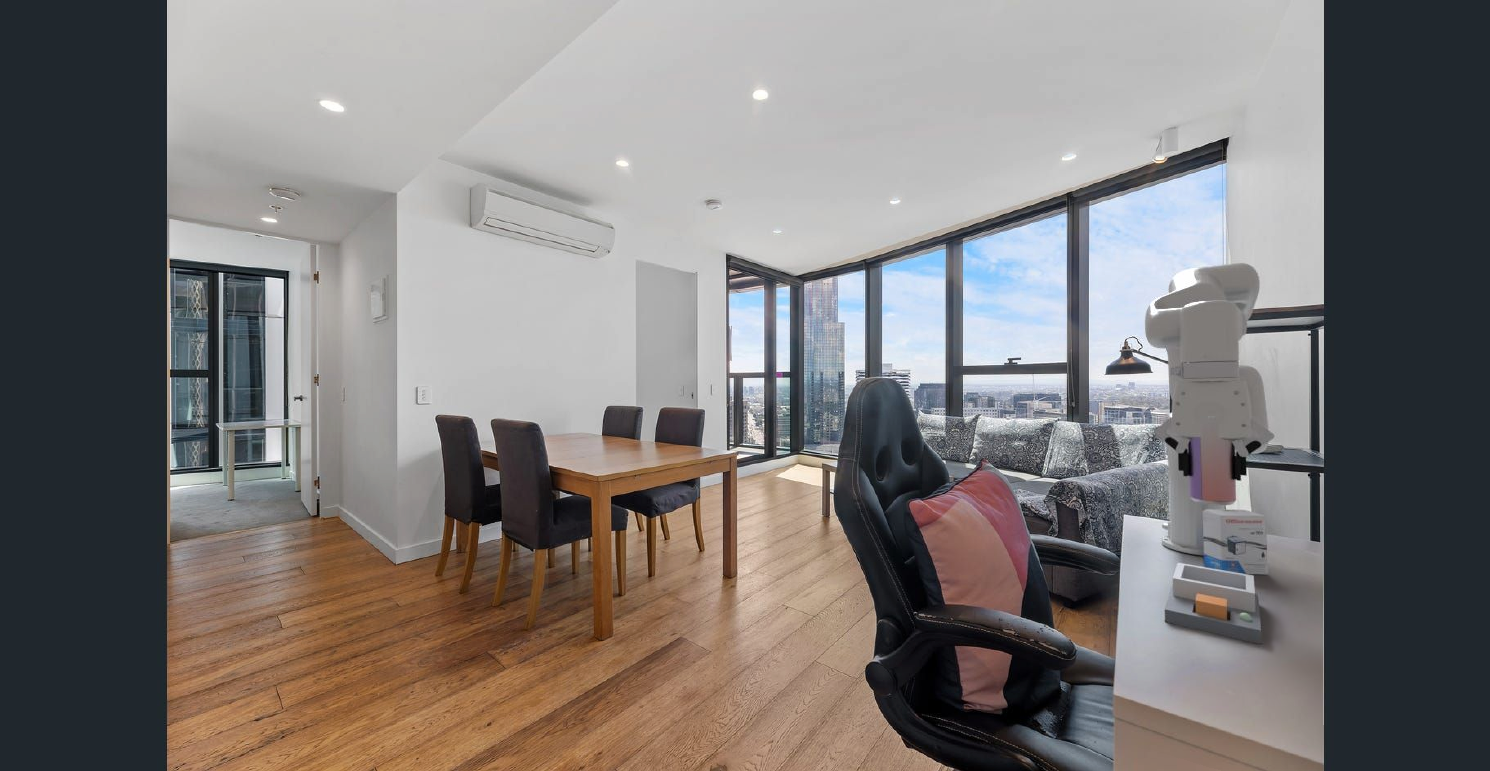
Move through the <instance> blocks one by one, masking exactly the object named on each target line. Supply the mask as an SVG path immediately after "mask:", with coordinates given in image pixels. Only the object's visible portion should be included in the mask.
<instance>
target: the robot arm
mask: <svg viewBox="0 0 1490 771" xmlns="http://www.w3.org/2000/svg"><path fill="white" fill-rule="evenodd" d="M1260 282H1261V281H1260V277H1259V273H1258V272H1257V270H1256V269H1255V267H1253V266H1252V265H1250V264H1248V263H1244V262H1240V263H1239V262H1237V263H1229V264H1227V263H1226V264H1220V265H1211V266H1202V267H1194V268H1190V269H1186V270H1183V271H1181V272H1179V273H1177V274H1176V275H1174V277H1172V279H1171V280H1170V282H1169V285H1168V294H1165V295H1162V296H1160V297H1158V298H1156V299H1154V300H1153V301H1152V302H1151V303H1150V304H1149V306H1148V307H1147V310H1146V313H1145V317H1144V318H1145V319H1144V329H1145V331H1144V334H1145V337H1146V340H1147V342H1148V343H1149V344H1150V346H1151V347H1154V348H1156V349H1165V351H1166V354H1167V364H1168V365H1167V366H1168V368H1167V370H1168V388H1169V394H1170V395H1169V396H1170V398H1171V400H1172V402H1171V403H1172V405H1171V412H1170V413H1168V414H1167V415H1166V416H1165V417H1164V419H1163V421H1162V424H1160V425H1159V426H1158V427H1157V428H1156V429H1154V430H1153V433H1154V434H1155V435H1156V436H1157V437H1158V438H1160V439H1161V440H1162V441H1164V442H1165V446H1166V453H1167V464H1168V468H1167V469H1168V499H1169V500H1168V502H1169V505H1168V506H1169V509H1168V510H1169V521H1168V522H1167V523H1162V525H1161V527H1162V529H1164V530H1165V531H1167V535H1165V536H1163V537H1161V544H1162V545H1163V546H1164V547H1166V548H1169V549H1171V550H1174V551H1177V552H1181V553H1185V554H1191V555H1196V556H1201V557H1202V556H1203V557H1204V541H1203V511H1205V509H1220V510H1221V509H1226V508H1225V506H1226V505H1214V504H1205V503H1200V502H1196V501H1193V500H1192V499H1191V497H1190V495H1189V453H1188V443H1189V441H1190V438H1195V439H1197V438H1200V437H1202V423H1200V422H1203V421H1202V420H1204V419H1206V418H1208V416H1210V417H1211V416H1215V417H1211V418H1213V419H1215V420H1217V423H1219V422H1220V423H1219V424H1218V437H1219V438H1221V439H1224V440H1232V443H1233V445H1234V446H1235V480H1236V482H1237V481H1242V476H1247V472H1248V470H1247V469H1248V468H1247V457H1248V456H1250V455H1255V454H1256V455H1257V454H1260V453H1262V452H1264V451H1265V450H1267V448H1268V445H1269V442H1270V441H1272V440H1273V439H1274V438H1275V434H1274V433H1273V432H1272V431H1270V430H1269V422H1268V413H1267V403H1266V396H1265V395H1266V394H1265V387H1264V381H1263V377H1262V376H1261V373H1260V372H1259V371H1258V370H1257V369H1256V368H1255V367H1252V366H1250V365H1243V364H1240V354H1239V353H1240V352H1239V350H1240V349H1239V348H1240V345H1239V341H1241V339H1242V338H1243V336H1246V333H1247V329H1248V321H1249V319H1250V318H1251V316H1252V314H1253V310H1254V308H1255V305H1256V302H1257V299H1258V296H1259V294H1260V293H1259V292H1260V284H1261V283H1260Z"/></svg>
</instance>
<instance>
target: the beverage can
mask: <svg viewBox="0 0 1490 771" xmlns="http://www.w3.org/2000/svg"><path fill="white" fill-rule="evenodd" d="M1211 417H1215V416H1211ZM1211 417H1210V416H1208V418H1206V419H1204V420H1202V421H1203V422H1200V423H1202V437H1200V438H1197V439H1195V438H1190V441H1189V443H1188V453H1189V495H1190V497H1191V499H1192V500H1193V501H1196V502H1200V503H1205V504H1214V505H1225V506H1231V505H1234V503H1235V502H1236V501H1237V486H1236V485H1237V484H1236V482H1237V480H1235V456H1236V454H1235V446H1234V445H1233V443H1232V440H1224V439H1221V438H1219V437H1218V424H1219V423H1220V422H1219V423H1217V420H1215V419H1213V418H1211Z"/></svg>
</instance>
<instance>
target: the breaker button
mask: <svg viewBox="0 0 1490 771" xmlns="http://www.w3.org/2000/svg"><path fill="white" fill-rule="evenodd" d="M1195 602H1196V613H1197V614H1201V615H1206V616H1211V617H1215V618H1220V619H1224V620H1227V599H1223V598H1218V597H1213V596H1208V595H1203V594H1198V593H1197V595H1196V600H1195Z"/></svg>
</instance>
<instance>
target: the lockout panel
mask: <svg viewBox="0 0 1490 771" xmlns="http://www.w3.org/2000/svg"><path fill="white" fill-rule="evenodd" d="M1254 578H1255V575H1254V574H1241V573H1236V572H1230V571H1224V570H1218V569H1212V568H1208V567H1206V566H1200V565H1194V564H1188V563H1181V562H1177V564H1176V567H1175V570H1174V574H1173V576H1172V585H1171V588H1170V591H1169V595H1168V598H1167V601H1166V605H1165V607H1164V622H1165V623H1170V624H1173V625H1178V626H1182V627H1186V628H1191V629H1194V630H1199V631H1203V632H1208V633H1211V634H1216V635H1220V636H1224V637H1229V638H1233V639H1237V640H1242V641H1246V642H1250V643H1255V644H1259V645H1262V625H1261V612H1260V602H1259V592H1256V590H1255V579H1254ZM1197 593H1198V594H1203V595H1208V596H1213V597H1218V598H1223V599H1227V620H1224V619H1220V618H1215V617H1211V616H1206V615H1201V614H1197V613H1196V602H1195V600H1196V595H1197Z"/></svg>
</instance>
